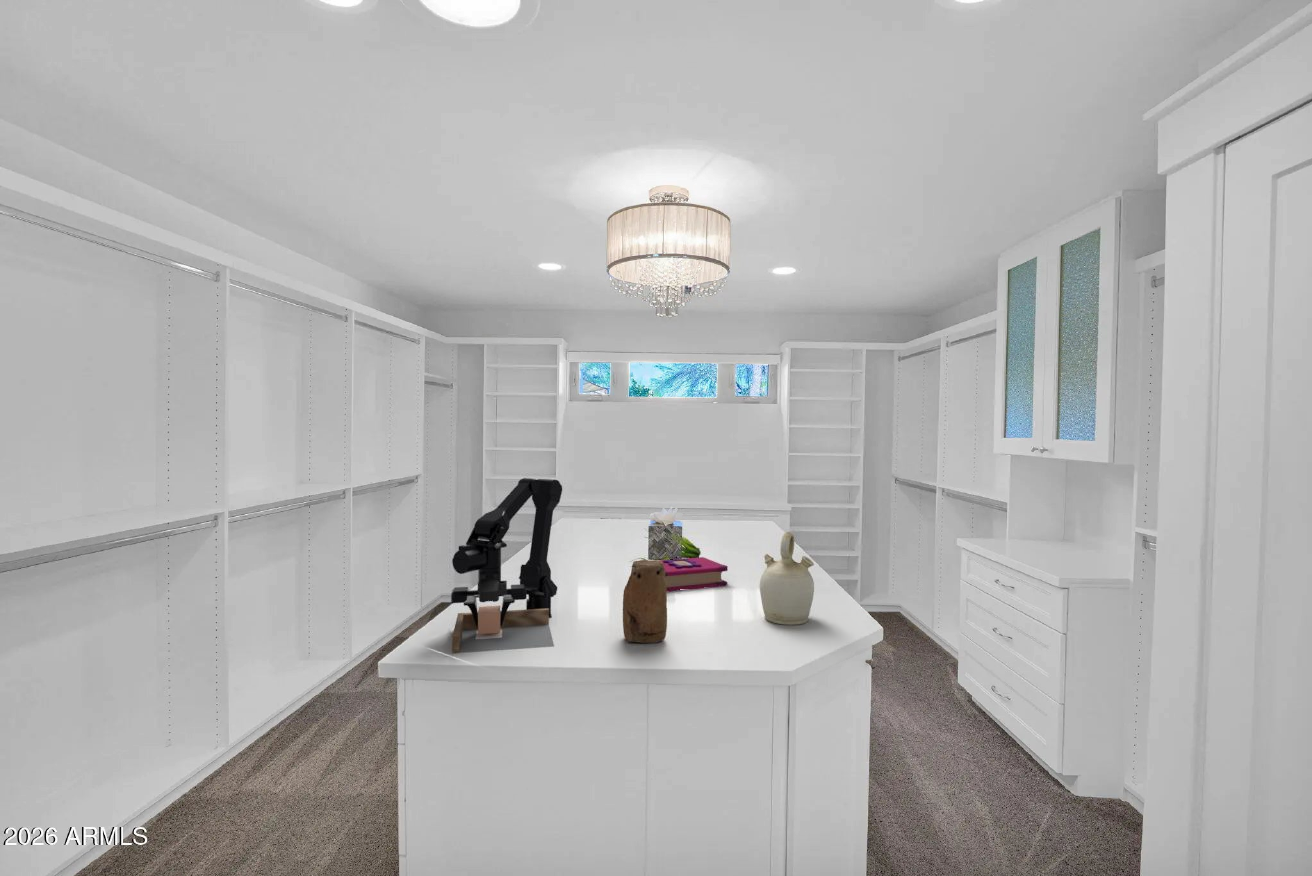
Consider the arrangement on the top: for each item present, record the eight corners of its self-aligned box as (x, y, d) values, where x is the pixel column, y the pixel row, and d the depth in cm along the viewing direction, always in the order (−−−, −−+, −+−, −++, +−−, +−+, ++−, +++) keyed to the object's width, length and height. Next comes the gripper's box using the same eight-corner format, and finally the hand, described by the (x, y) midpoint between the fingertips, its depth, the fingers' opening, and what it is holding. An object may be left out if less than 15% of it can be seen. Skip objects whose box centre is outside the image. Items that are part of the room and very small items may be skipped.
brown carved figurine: (661, 634, 169) (662, 558, 169) (668, 643, 162) (669, 564, 162) (620, 636, 167) (621, 560, 166) (626, 646, 159) (627, 565, 159)
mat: (548, 623, 177) (548, 622, 177) (554, 647, 158) (554, 645, 158) (457, 629, 172) (457, 627, 172) (452, 654, 152) (452, 652, 152)
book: (632, 580, 232) (632, 559, 232) (701, 574, 243) (701, 554, 243) (655, 594, 213) (655, 571, 213) (729, 586, 224) (729, 565, 224)
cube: (500, 626, 170) (500, 605, 170) (500, 632, 165) (500, 611, 165) (478, 627, 169) (478, 606, 169) (478, 634, 163) (478, 612, 163)
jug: (823, 618, 185) (824, 532, 185) (795, 630, 173) (796, 538, 173) (778, 608, 195) (778, 526, 195) (748, 619, 184) (749, 532, 184)
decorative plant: (630, 558, 273) (630, 523, 273) (699, 558, 274) (699, 524, 273) (629, 567, 255) (629, 530, 255) (703, 567, 256) (703, 530, 256)
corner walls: (548, 622, 177) (548, 608, 177) (554, 646, 158) (554, 630, 158) (457, 628, 172) (458, 613, 172) (452, 653, 152) (452, 636, 152)
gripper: (449, 574, 157) (449, 638, 157) (527, 571, 161) (527, 633, 161) (453, 565, 167) (452, 625, 167) (525, 562, 172) (525, 620, 172)
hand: (489, 626), depth 167 cm, fingers closed on cube, 5 cm apart
